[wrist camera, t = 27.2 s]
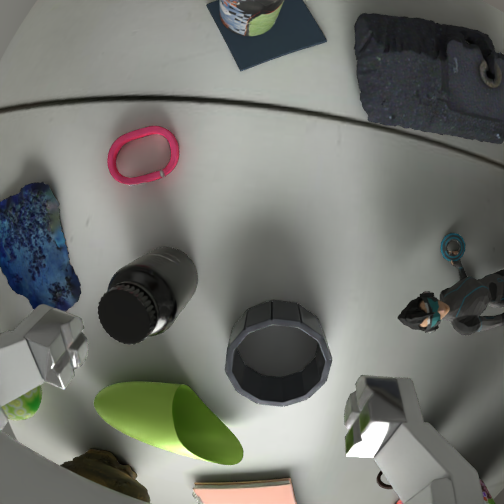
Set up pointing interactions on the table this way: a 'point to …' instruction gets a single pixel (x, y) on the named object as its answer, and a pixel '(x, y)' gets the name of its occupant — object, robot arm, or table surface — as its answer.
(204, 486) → the notebook
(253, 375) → the stand
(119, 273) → the supplement bottle
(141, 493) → the pottery vessel
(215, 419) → the green hollow scoop
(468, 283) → the figurine
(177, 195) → the table surface
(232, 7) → the beverage can
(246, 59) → the rubber pad
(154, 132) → the fitness band
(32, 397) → the decorative ball
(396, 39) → the dark slate chunk
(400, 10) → the table surface
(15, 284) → the rock
